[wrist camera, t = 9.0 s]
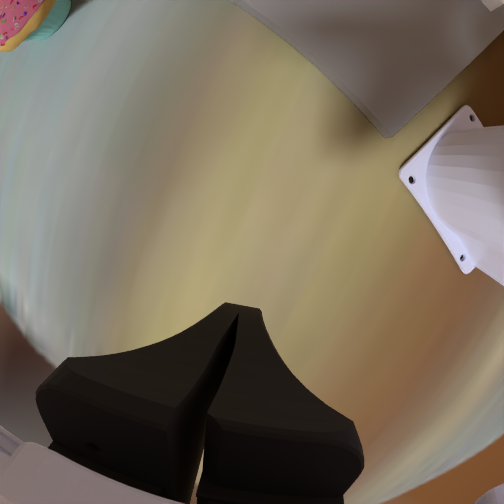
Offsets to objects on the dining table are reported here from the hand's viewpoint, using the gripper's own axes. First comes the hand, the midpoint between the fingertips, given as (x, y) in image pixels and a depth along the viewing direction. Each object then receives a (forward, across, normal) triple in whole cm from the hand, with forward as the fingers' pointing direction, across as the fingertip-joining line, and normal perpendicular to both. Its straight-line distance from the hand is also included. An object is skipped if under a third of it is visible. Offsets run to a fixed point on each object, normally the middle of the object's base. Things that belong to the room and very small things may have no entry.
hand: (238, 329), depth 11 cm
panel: (+9, -6, -24) cm, 27 cm away
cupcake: (+10, +21, -18) cm, 30 cm away
